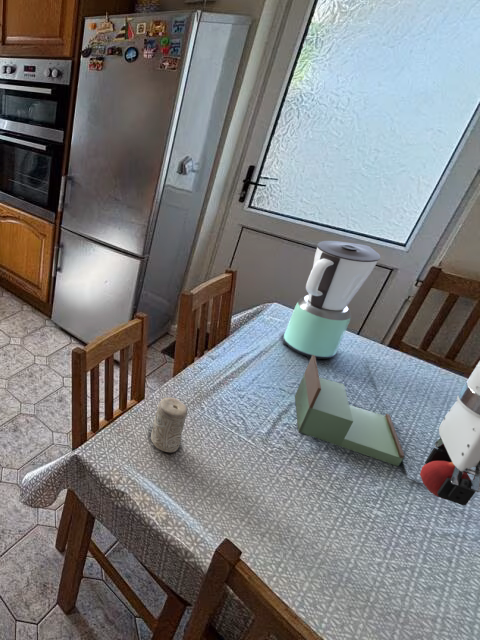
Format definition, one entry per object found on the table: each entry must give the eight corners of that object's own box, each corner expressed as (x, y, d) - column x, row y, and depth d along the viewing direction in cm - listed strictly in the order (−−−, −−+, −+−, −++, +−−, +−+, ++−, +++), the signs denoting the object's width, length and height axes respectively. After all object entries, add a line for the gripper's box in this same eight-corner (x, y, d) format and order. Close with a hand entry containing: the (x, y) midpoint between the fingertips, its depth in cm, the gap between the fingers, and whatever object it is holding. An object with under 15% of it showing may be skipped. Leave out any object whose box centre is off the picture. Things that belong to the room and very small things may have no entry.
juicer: (302, 331, 137) (341, 234, 122) (348, 355, 126) (397, 251, 111) (262, 344, 131) (298, 244, 116) (306, 370, 120) (352, 263, 105)
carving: (179, 437, 99) (190, 399, 94) (177, 461, 93) (188, 422, 88) (151, 427, 102) (160, 390, 97) (147, 450, 96) (156, 412, 91)
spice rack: (384, 424, 102) (408, 380, 96) (398, 466, 91) (427, 420, 85) (294, 396, 111) (312, 354, 105) (298, 431, 100) (318, 387, 94)
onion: (469, 505, 69) (494, 473, 66) (447, 515, 68) (470, 483, 64) (426, 475, 74) (446, 444, 71) (404, 484, 73) (423, 453, 69)
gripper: (569, 457, 54) (498, 541, 61) (509, 378, 67) (456, 456, 74) (484, 433, 57) (428, 515, 65) (443, 363, 70) (400, 438, 78)
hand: (444, 482), depth 70 cm, fingers closed on onion, 5 cm apart
